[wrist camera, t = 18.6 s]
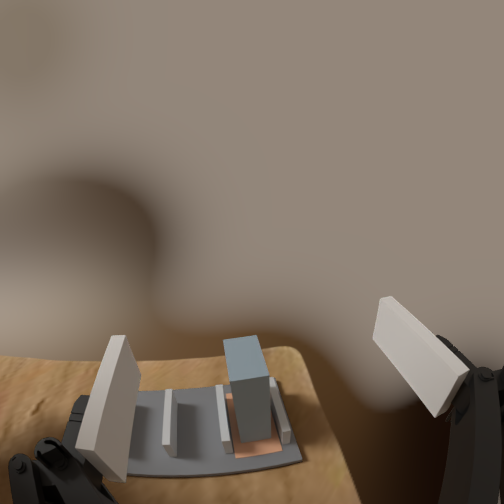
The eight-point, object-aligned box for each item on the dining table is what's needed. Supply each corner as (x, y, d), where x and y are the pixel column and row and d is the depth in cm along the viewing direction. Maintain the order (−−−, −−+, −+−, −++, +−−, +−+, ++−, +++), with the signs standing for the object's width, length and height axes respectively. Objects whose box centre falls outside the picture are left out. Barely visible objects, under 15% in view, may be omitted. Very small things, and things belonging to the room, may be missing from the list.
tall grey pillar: (241, 443, 30) (229, 381, 26) (234, 405, 37) (223, 339, 32) (271, 438, 31) (269, 375, 26) (260, 401, 37) (256, 335, 33)
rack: (113, 473, 24) (99, 459, 23) (126, 394, 39) (118, 376, 38) (302, 461, 28) (304, 447, 26) (274, 380, 42) (274, 362, 41)
